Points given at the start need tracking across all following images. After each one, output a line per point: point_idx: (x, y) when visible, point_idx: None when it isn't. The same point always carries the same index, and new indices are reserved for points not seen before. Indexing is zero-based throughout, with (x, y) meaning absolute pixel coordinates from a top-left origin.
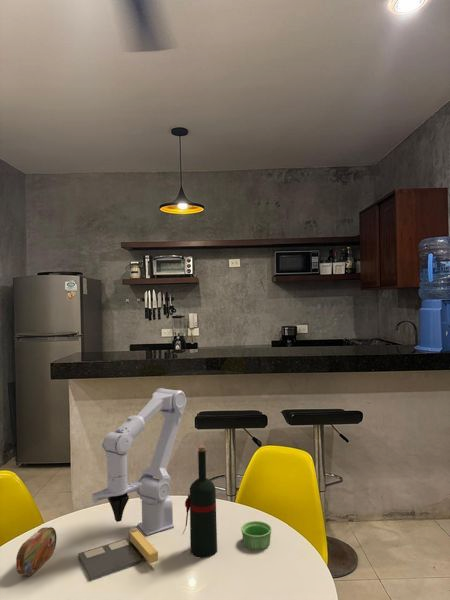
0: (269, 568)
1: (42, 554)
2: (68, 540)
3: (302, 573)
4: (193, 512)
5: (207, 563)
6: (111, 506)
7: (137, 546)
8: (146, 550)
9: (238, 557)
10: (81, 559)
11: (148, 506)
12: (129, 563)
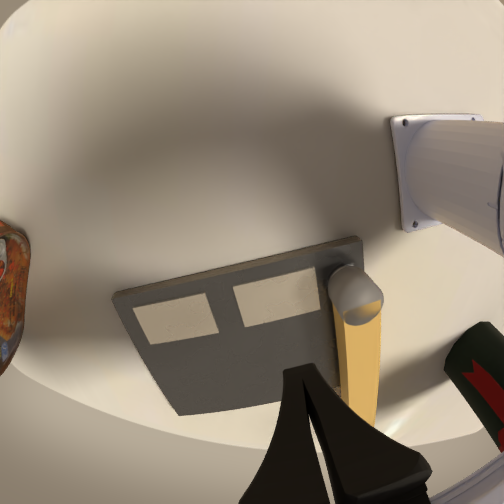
0: None
1: (7, 297)
2: (62, 146)
3: None
4: (498, 444)
5: (444, 390)
6: (272, 446)
7: (341, 367)
8: None
9: None
10: (132, 340)
11: (496, 249)
12: None
